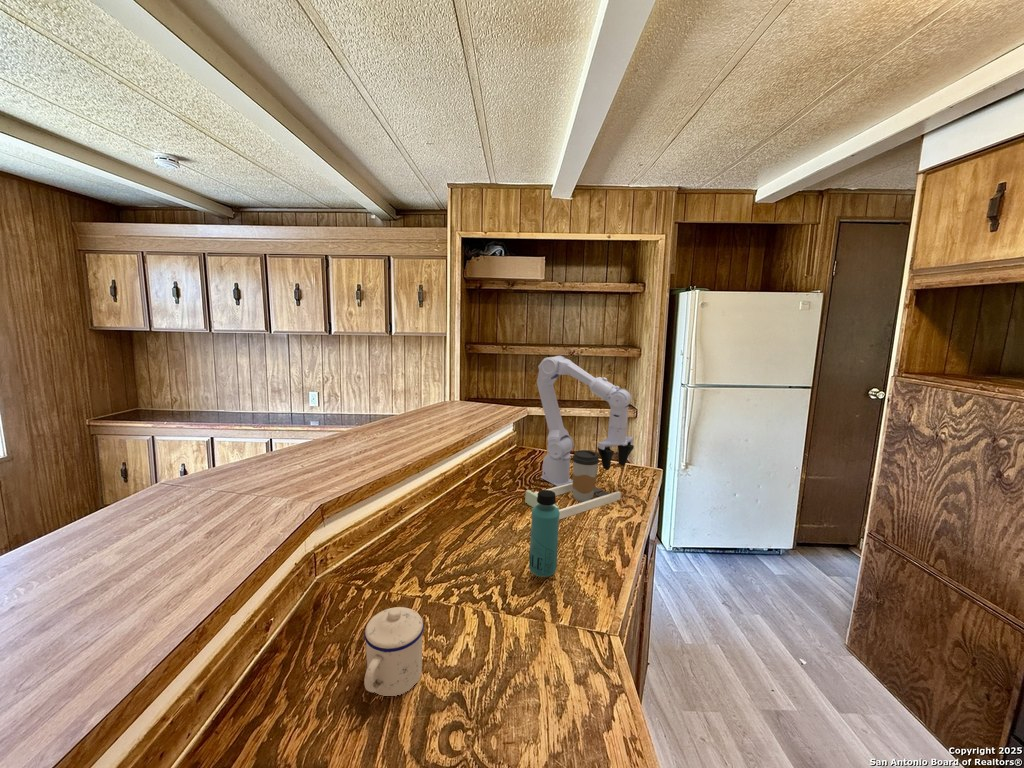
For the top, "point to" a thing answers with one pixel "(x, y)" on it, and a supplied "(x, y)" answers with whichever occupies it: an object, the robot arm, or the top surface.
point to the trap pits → (597, 490)
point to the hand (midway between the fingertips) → (614, 466)
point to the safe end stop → (533, 499)
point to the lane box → (584, 505)
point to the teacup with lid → (393, 651)
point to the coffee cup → (584, 474)
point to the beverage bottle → (544, 535)
